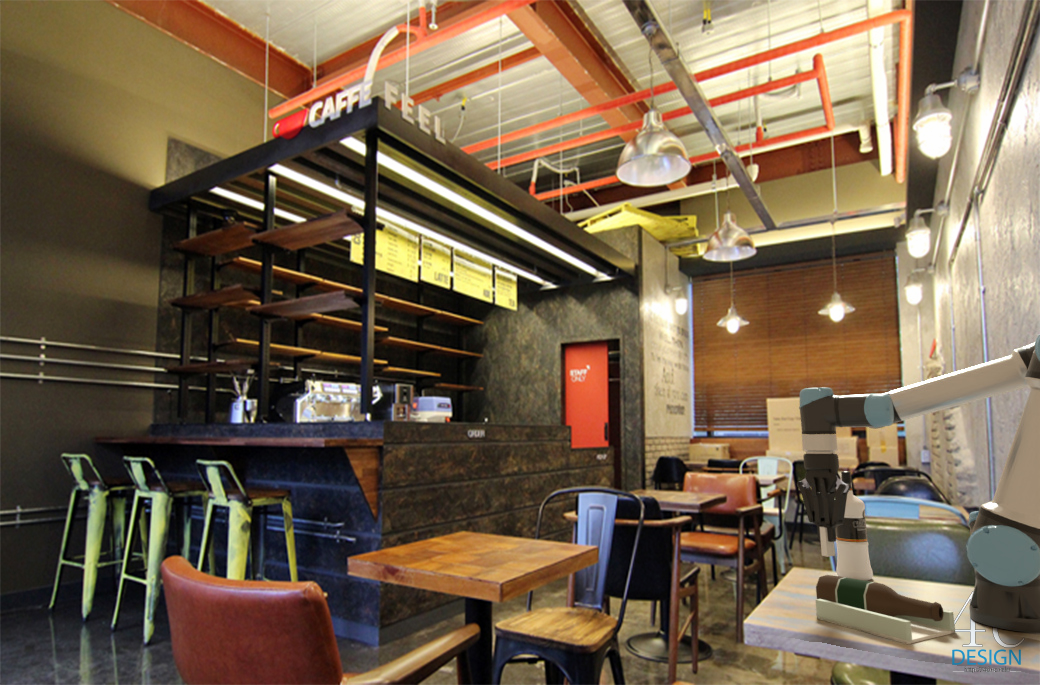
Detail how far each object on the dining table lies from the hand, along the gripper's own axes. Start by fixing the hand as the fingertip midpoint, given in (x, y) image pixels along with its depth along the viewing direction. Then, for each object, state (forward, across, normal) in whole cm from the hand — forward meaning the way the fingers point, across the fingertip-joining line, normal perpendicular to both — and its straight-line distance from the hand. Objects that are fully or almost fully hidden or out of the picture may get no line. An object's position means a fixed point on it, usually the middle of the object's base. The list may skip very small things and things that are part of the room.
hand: (828, 555), depth 145 cm
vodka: (+13, +21, -38) cm, 45 cm away
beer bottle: (+8, +2, 0) cm, 8 cm away
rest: (+12, -12, 0) cm, 17 cm away
